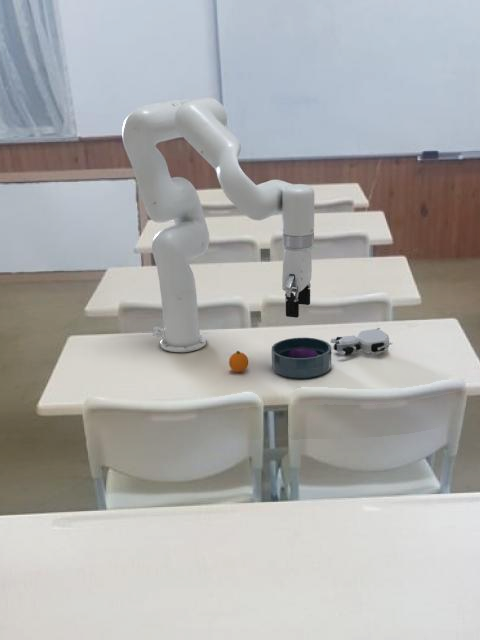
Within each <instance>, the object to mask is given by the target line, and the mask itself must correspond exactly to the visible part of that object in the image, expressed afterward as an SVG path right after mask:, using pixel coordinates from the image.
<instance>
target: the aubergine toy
mask: <svg viewBox="0 0 480 640" xmlns="http://www.w3.org/2000/svg"><path fill="white" fill-rule="evenodd" d="M316 356H319V355H318V353H317V352H316V351H314V350H310V349H300V348H294V349H292V350H291V351H290V352H289V355H288V357H289V358H310V357H316Z"/></svg>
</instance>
